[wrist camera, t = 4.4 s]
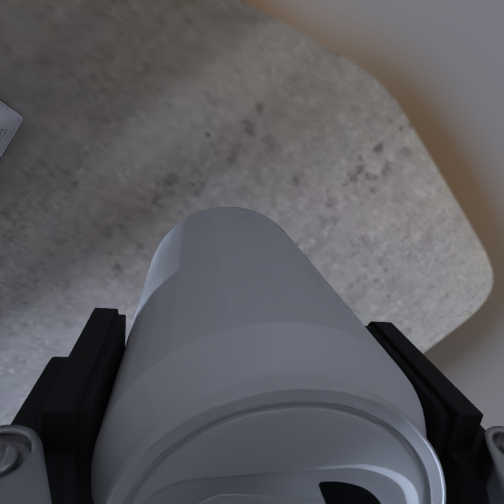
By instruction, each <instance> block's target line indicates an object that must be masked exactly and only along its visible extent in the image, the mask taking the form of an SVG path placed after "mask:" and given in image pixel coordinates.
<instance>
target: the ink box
mask: <svg viewBox="0 0 504 504" xmlns="http://www.w3.org/2000/svg"><path fill="white" fill-rule="evenodd" d="M22 122H23V118H22V117H21V116H20V115H19V114H18V113H16V112H15V111H14V110H12V109H11V108H10V107H8V106H7V105H6V104H4V103H3V102H2V101H0V157H1V156H2V154H3V153H4V151H5V150H6V148H7V146H8V145H9V143H10V142H11V140H12V138H13V137H14V135H15V134H16V132H17V130H18V129H19V127H20V125H21V124H22Z"/></svg>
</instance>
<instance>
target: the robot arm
mask: <svg viewBox="0 0 504 504" xmlns="http://www.w3.org/2000/svg"><path fill="white" fill-rule="evenodd" d="M365 327H366V329H367V330H368V331H369V332H370V333H371V334H372V336H373V337H374V338H375V339H376V340H377V342H378V343H379V344H380V345H381V346H382V348H383V349H384V350H385V351H386V352H387V353H388V355H389V356H390V357H391V358H392V359H393V361H394V362H395V363H396V364H397V365H398V367H399V368H400V369H401V370H402V372H403V373H404V374H405V376H406V377H407V378H408V380H409V381H410V383H411V384H412V386H413V388H414V390H415V392H416V394H417V396H418V399H419V401H420V403H421V407H422V410H423V414H424V419H425V426H426V438H427V440H428V441H429V443H430V444H431V446H432V447H433V449H434V450H435V452H436V454H437V456H438V459H439V461H440V463H441V466H442V469H443V474H444V479H445V486H446V504H504V426H492V427H490V428H488V429H487V430H485V429H484V428H483V427H482V426H481V425H480V423H481V420H482V417H483V414H482V413H481V412H480V411H479V410H478V409H477V408H476V407H475V406H474V405H473V404H472V403H471V402H470V401H469V400H468V399H467V398H466V397H465V396H464V395H463V394H462V393H461V392H460V391H459V390H458V389H457V388H456V387H455V386H454V385H453V384H452V383H451V382H450V381H449V380H448V379H447V378H446V377H445V376H444V375H443V374H442V373H441V372H440V371H439V370H438V369H437V368H436V367H435V366H434V365H433V364H432V363H431V362H430V361H429V360H428V359H427V358H426V357H425V356H424V355H423V354H422V353H421V352H420V351H419V350H418V349H417V348H416V347H415V346H414V345H413V344H412V343H411V342H410V341H409V340H408V339H407V338H406V337H405V336H404V335H403V334H402V333H401V332H400V331H399V330H398V329H397V328H396V327H395V326H394V325H393V324H392V323H391V322H370V323H369V324H368V326H365ZM125 330H126V315H120V314H118V309H110V308H95V309H94V311H93V312H92V314H91V316H90V318H89V320H88V322H87V324H86V325H85V327H84V329H83V331H82V333H81V335H80V337H79V338H78V340H77V342H76V344H75V346H74V348H73V349H72V351H71V353H70V355H69V357H52V358H51V360H50V361H49V363H48V364H47V366H46V367H45V369H44V371H43V372H42V374H41V376H40V377H39V379H38V381H37V382H36V384H35V385H34V387H33V389H32V390H31V392H30V394H29V395H28V397H27V399H26V400H25V402H24V403H23V405H22V407H21V408H20V410H19V412H18V413H17V415H16V417H15V418H14V420H13V421H12V423H11V425H2V426H0V504H94V503H93V499H92V494H91V462H92V456H93V451H94V446H95V443H96V439H97V436H98V433H99V430H100V427H101V423H102V420H103V417H104V414H105V410H106V407H107V404H108V401H109V398H110V394H111V391H112V388H113V385H114V382H115V378H116V375H117V372H118V369H119V365H120V362H121V359H122V356H123V353H124V349H125Z"/></svg>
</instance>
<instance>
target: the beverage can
mask: <svg viewBox="0 0 504 504" xmlns="http://www.w3.org/2000/svg"><path fill="white" fill-rule="evenodd" d="M91 494H92V499H93V503H94V504H446V486H445V479H444V474H443V469H442V466H441V463H440V461H439V459H438V456H437V454H436V452H435V450H434V449H433V447H432V446H431V444H430V443H429V441H428V440H427V438H426V426H425V419H424V414H423V410H422V407H421V403H420V401H419V399H418V396H417V394H416V392H415V390H414V388H413V386H412V384H411V383H410V381H409V380H408V378H407V377H406V376H405V374H404V373H403V372H402V370H401V369H400V368H399V367H398V365H397V364H396V363H395V362H394V361H393V359H392V358H391V357H390V356H389V355H388V353H387V352H386V351H385V350H384V349H383V348H382V346H381V345H380V344H379V343H378V342H377V340H376V339H375V338H374V337H373V336H372V334H371V333H370V332H369V331H368V330H367V329H366V327H365V326H364V325H363V324H362V323H361V321H360V320H359V319H358V318H357V317H356V316H355V314H354V313H353V312H352V311H351V310H350V308H349V307H348V306H347V305H346V304H345V302H344V301H343V300H342V299H341V298H340V297H339V295H338V294H337V293H336V292H335V291H334V289H333V288H332V287H331V286H330V285H329V284H328V282H327V281H326V280H325V279H324V278H323V276H322V275H321V274H320V273H319V272H318V270H317V269H316V268H315V267H314V266H313V265H312V263H311V262H310V261H309V260H308V259H307V257H306V256H305V255H304V254H303V253H302V252H301V250H300V249H299V248H298V247H297V246H296V244H295V243H294V242H293V241H292V240H291V238H290V237H289V236H288V235H287V234H286V233H285V231H284V230H283V229H282V228H281V227H280V226H279V225H277V224H276V223H275V222H274V221H272V220H271V219H269V218H268V217H266V216H264V215H262V214H260V213H257V212H255V211H252V210H249V209H244V208H238V207H217V208H211V209H207V210H203V211H201V212H198V213H195V214H193V215H191V216H189V217H187V218H186V219H184V220H183V221H181V222H180V223H178V224H177V225H176V226H175V227H174V228H173V229H172V230H171V231H170V232H169V233H168V234H167V235H166V236H165V237H164V238H163V240H162V241H161V243H160V244H159V246H158V248H157V250H156V252H155V254H154V257H153V259H152V262H151V266H150V269H149V272H148V275H147V279H146V282H145V285H144V288H143V291H142V295H141V298H140V301H139V304H138V308H137V311H136V314H135V317H134V320H133V324H132V327H131V330H130V333H129V336H128V340H127V343H126V346H125V349H124V353H123V356H122V359H121V362H120V365H119V369H118V372H117V375H116V378H115V382H114V385H113V388H112V391H111V394H110V398H109V401H108V404H107V407H106V410H105V414H104V417H103V420H102V423H101V427H100V430H99V433H98V436H97V439H96V443H95V446H94V451H93V456H92V462H91Z"/></svg>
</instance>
